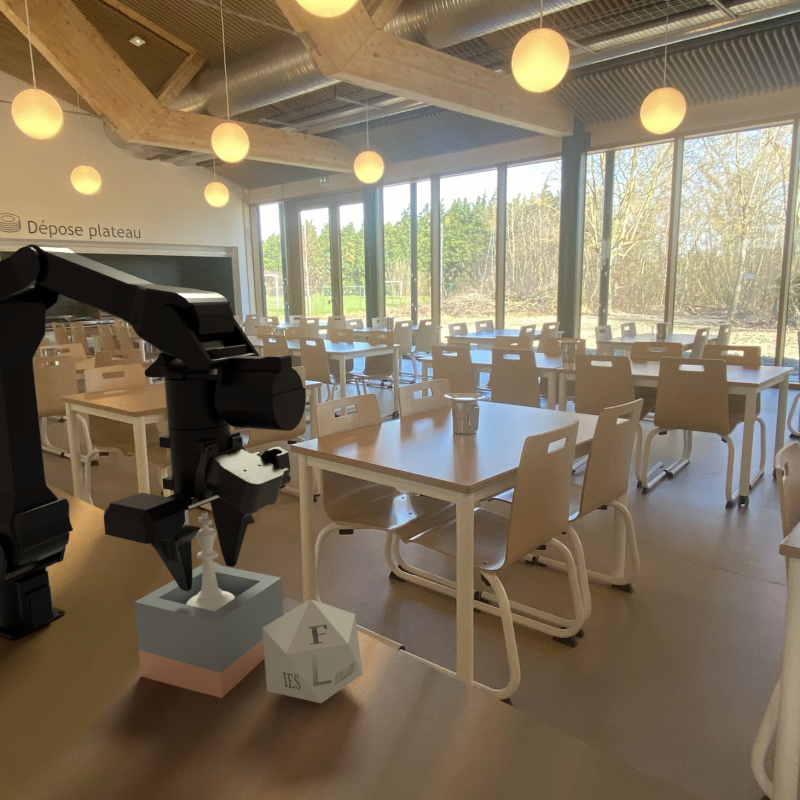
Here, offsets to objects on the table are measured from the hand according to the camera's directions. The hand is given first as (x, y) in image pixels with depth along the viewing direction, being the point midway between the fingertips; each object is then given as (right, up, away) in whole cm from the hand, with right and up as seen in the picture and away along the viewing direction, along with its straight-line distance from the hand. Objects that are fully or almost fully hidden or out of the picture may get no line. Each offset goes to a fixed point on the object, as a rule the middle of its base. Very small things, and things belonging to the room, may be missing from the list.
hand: (209, 577), depth 64 cm
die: (+11, -10, -5) cm, 16 cm away
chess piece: (0, -3, +1) cm, 3 cm away
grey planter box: (0, -9, +1) cm, 9 cm away
